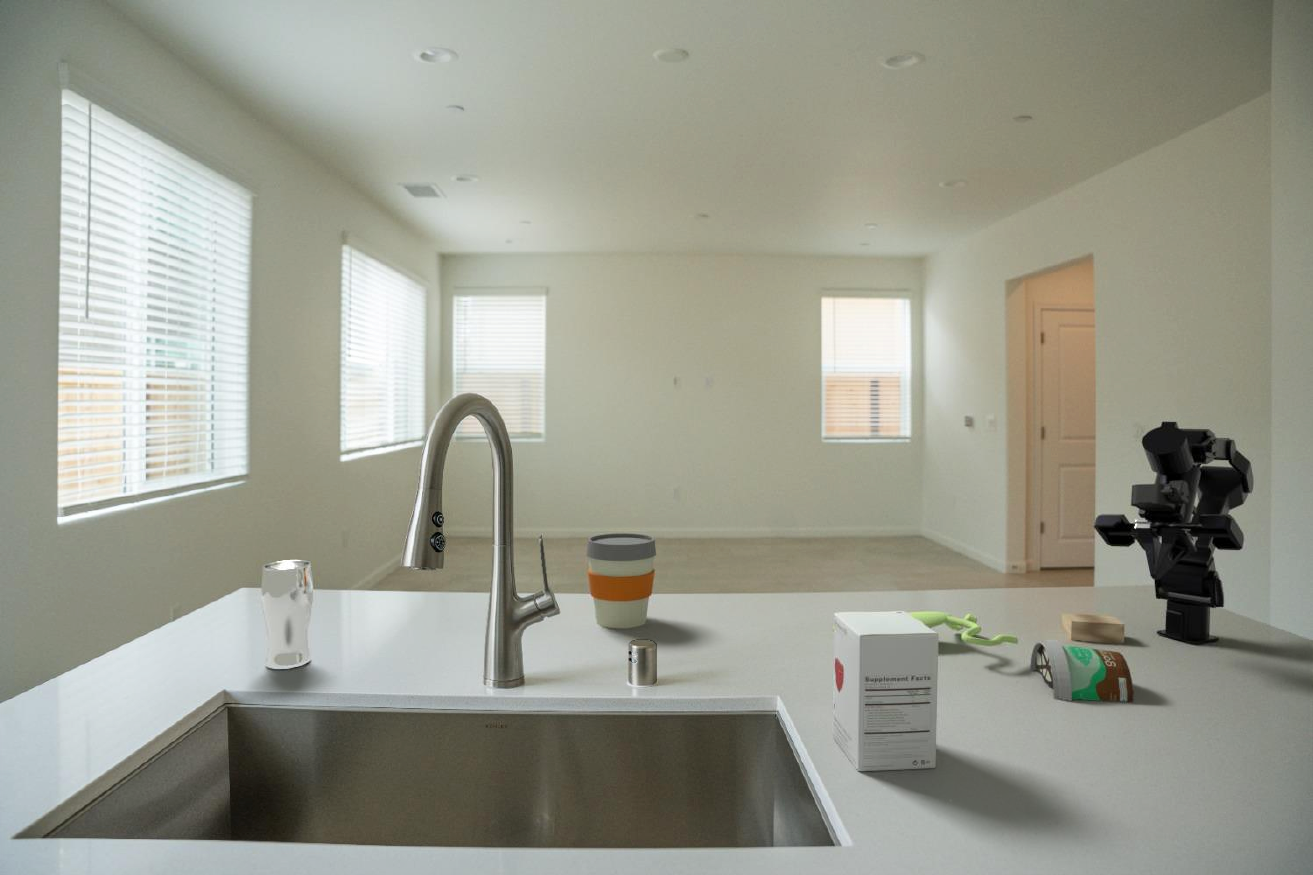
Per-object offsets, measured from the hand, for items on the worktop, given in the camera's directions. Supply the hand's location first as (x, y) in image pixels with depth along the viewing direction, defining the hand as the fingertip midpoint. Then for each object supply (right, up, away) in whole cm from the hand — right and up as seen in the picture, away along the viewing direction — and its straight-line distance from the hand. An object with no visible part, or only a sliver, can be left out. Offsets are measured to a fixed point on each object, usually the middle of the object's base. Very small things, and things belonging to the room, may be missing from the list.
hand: (1154, 577), depth 114 cm
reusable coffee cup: (-81, -12, +23) cm, 85 cm away
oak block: (-1, -13, +14) cm, 19 cm away
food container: (-11, -11, -9) cm, 18 cm away
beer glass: (-130, -13, 0) cm, 131 cm away
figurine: (-32, -13, +9) cm, 36 cm away
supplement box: (-50, -15, -29) cm, 59 cm away
